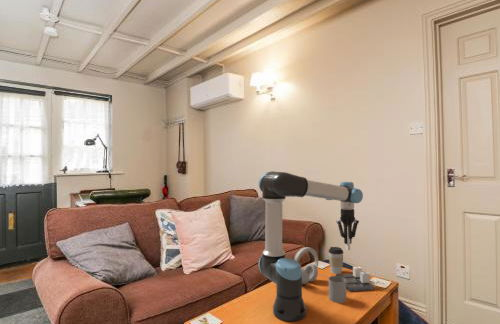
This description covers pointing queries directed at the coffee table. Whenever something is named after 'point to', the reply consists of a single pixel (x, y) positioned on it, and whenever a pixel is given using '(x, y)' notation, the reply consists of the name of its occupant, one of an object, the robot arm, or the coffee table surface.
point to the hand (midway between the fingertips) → (348, 249)
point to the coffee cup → (336, 259)
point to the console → (355, 283)
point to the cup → (337, 289)
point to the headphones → (308, 266)
